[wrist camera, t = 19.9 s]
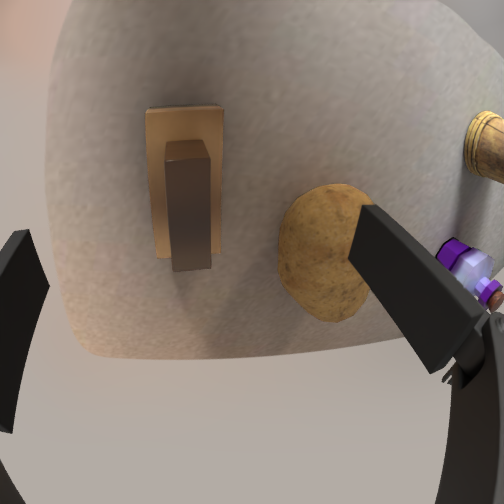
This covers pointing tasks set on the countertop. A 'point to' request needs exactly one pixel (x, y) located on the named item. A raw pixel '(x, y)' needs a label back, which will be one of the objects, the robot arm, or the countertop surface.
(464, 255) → the potion bottle
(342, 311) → the potato
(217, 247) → the brush
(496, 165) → the wooden mug
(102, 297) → the countertop surface
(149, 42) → the countertop surface
